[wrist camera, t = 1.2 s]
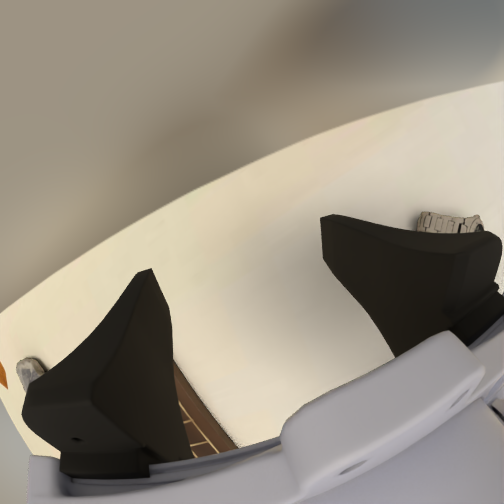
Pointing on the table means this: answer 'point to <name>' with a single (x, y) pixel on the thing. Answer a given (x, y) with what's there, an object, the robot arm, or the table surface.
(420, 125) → the table surface
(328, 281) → the table surface
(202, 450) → the board
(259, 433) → the table surface
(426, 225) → the wristwatch
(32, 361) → the fossil
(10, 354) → the table surface
